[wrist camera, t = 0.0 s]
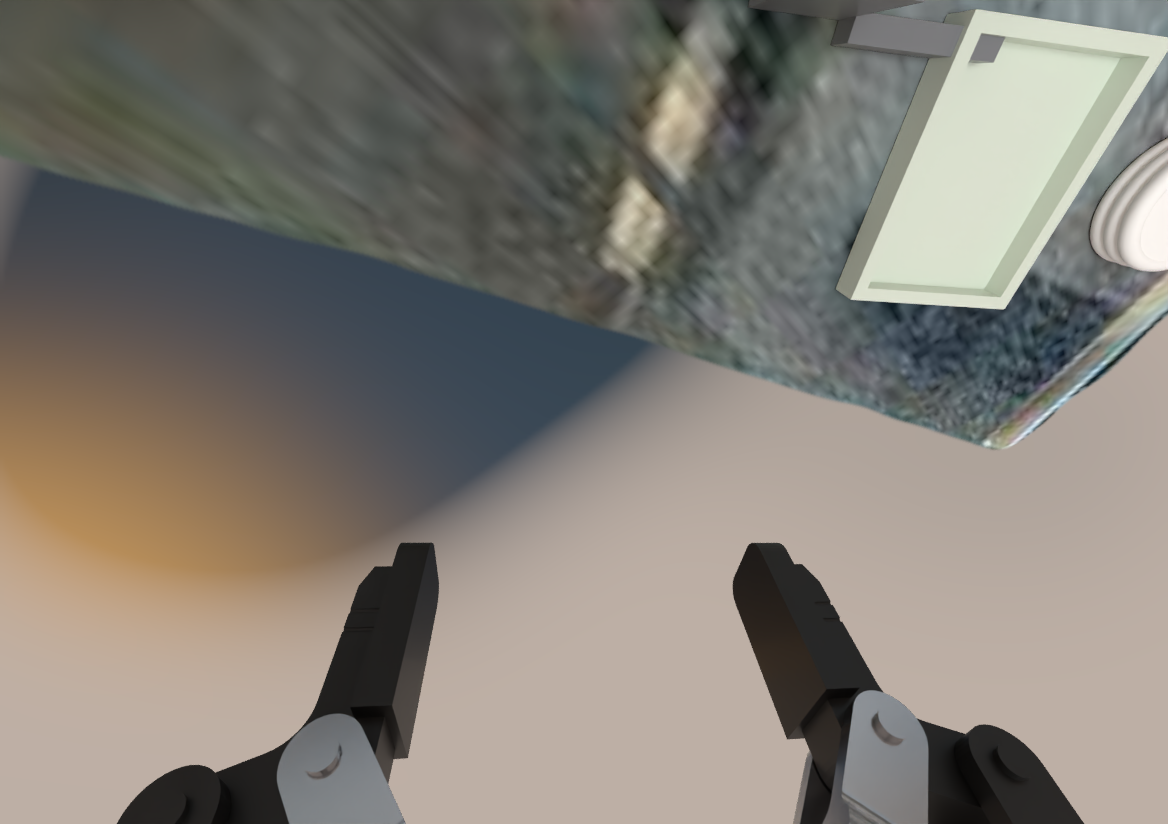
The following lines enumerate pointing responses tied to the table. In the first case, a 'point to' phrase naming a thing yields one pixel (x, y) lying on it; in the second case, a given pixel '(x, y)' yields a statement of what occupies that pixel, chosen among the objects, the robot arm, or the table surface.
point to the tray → (994, 158)
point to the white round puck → (1136, 214)
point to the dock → (885, 28)
